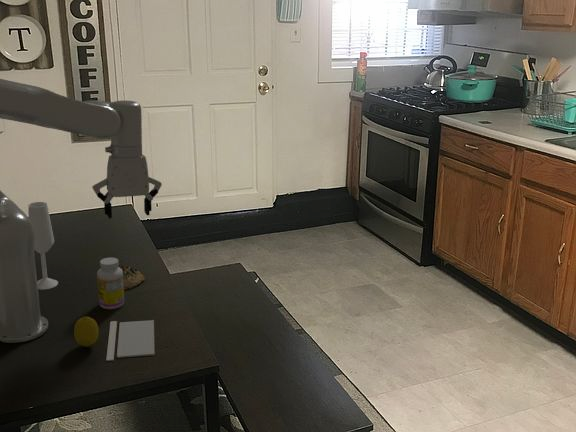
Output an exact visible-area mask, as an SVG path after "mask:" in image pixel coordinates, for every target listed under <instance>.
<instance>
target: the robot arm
mask: <svg viewBox="0 0 576 432" xmlns="http://www.w3.org/2000/svg"><path fill="white" fill-rule="evenodd" d="M142 116H143V115H142V105H141V104H140V103H139V102H137V101H132V100H115V101H103V100H93V99H91V100H85V101H82V100H79V99H74V98H71V97H67V96H65V95H61V94H58V93H56V92H54V91H52V90H49V89H46V88H43V87H41V86H37V85H30V84H27V83H21V82H17V81H12V80H7V79H3V78H0V120H1V119H3V120H7V121H13V122H17V123H24V124H29V125H34V126H38V127H40V128H41V127H42V128H46V129H47V128H48V129H51V130H52V129H53V130H58V131H62V132H66V133H71V134H76V135H81V136H85V137H86V136H88V137H92V138H97V139H98V138H99V139H108V138H109V139H110V144H109V146H106V147H104V151H105V153H108V154H110V155H109V156H108V159H107V166H106V178H104V179H103V180H101V181H99V182H97V183H95V184H94V185H92V186H91V187H92V190H93V191H94V193H95V195H96V196H97V198H98V199H100V201H102V202H103V204H104V205H103V206H104V215H106V216H107V217H108V219H112V218H113V215H112V213H113V212H112V210H113V209H112V203H111V201H112V200H113V198H126V197H140V196H144V198H143V201H144V202H143V205H144V206H143V207H144V210H143V211H144V213H145V215H146V216H150V213H151V212H152V210H153V209H152V201H153V200H154V198H155V197H156V195H158V193H159V191H160V190H161V187H162V182H161V181H160V180H157V179H156V178H152V177H150V176H149V170H148V169H149V168H148V163H147V157H146V156H145V155H144V154H143V136H142V135H143V128H142V127H143V125H142V123H143V122H142V120H143V119H142ZM150 184H151V185H154V186H153V188H152V189H151V190H150ZM105 186H106V189H107V190H106V191H107V192H106V193H105V194H104V193H103V192H101V189H102V188H104V187H105ZM34 241H35V235H34V228H33V225H32V223H31V221H30V219H29V218H28V215H27V214H26V213H25V212H24V211H23V210H22V209H21V208H20V207H19V206H18V205H17V204H16V203H15V202H14V201H13V200H12V199H11V198H10V197H8V196H7V195H6V194H5V193H4V192H3V191H2V190H0V342H1V343H7V344H8V343H9V344H16V343H19V344H20V343H24V342H25V343H26V342H28V341H32V340H34V339H35V340H36V338H37V339H38V337H40V336H42V335H43V334H45V333H46V332H47V331H48V329H49V321H48V319H47V318H46V317H44V316H42V315H41V314H42V313H41V306H40V295H39V289H38V285H37V281H38V279H37V269H36V260H35V259H36V258H35V257H36V256H35V250H34Z"/></svg>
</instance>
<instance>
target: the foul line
mask: <svg viewBox="0 0 576 432" xmlns="http://www.w3.org/2000/svg"><path fill="white" fill-rule="evenodd" d="M117 325H118V321H117V320H113V321H110V323H109V333H108V339H107V340H108V342H107V351H106V359H105V361H106V362H111V361H112V362H113V361H114V360H115V359H114V358H115V351H116V349H115V348H116V340H117V339H116V336H117Z"/></svg>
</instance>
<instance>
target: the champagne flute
mask: <svg viewBox="0 0 576 432" xmlns="http://www.w3.org/2000/svg"><path fill="white" fill-rule="evenodd" d="M27 206H28V210H27V211H28V213H27V214H28V215H27V216H28V218H29V219H30V221H31V223H32V225H33V228H34V235H35V241H34V252H36V253H38V254H40V262H41V271H42V278H41V279H39V280H37V285H38V290H49V289H52V288H55V287H57V286H58V285H59V281H58V280H56V279H53V278H49V277H48V272H47V262H46V261H47V259H46V253H47V252H48V251H49V250H50V249H52V247H53V245H54V244H55V237H54V233H53V228H52V222H51V217H50V212H49V207H48V203H47V202H45V201H35V202H30V203H29V204H28V205H27Z"/></svg>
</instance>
